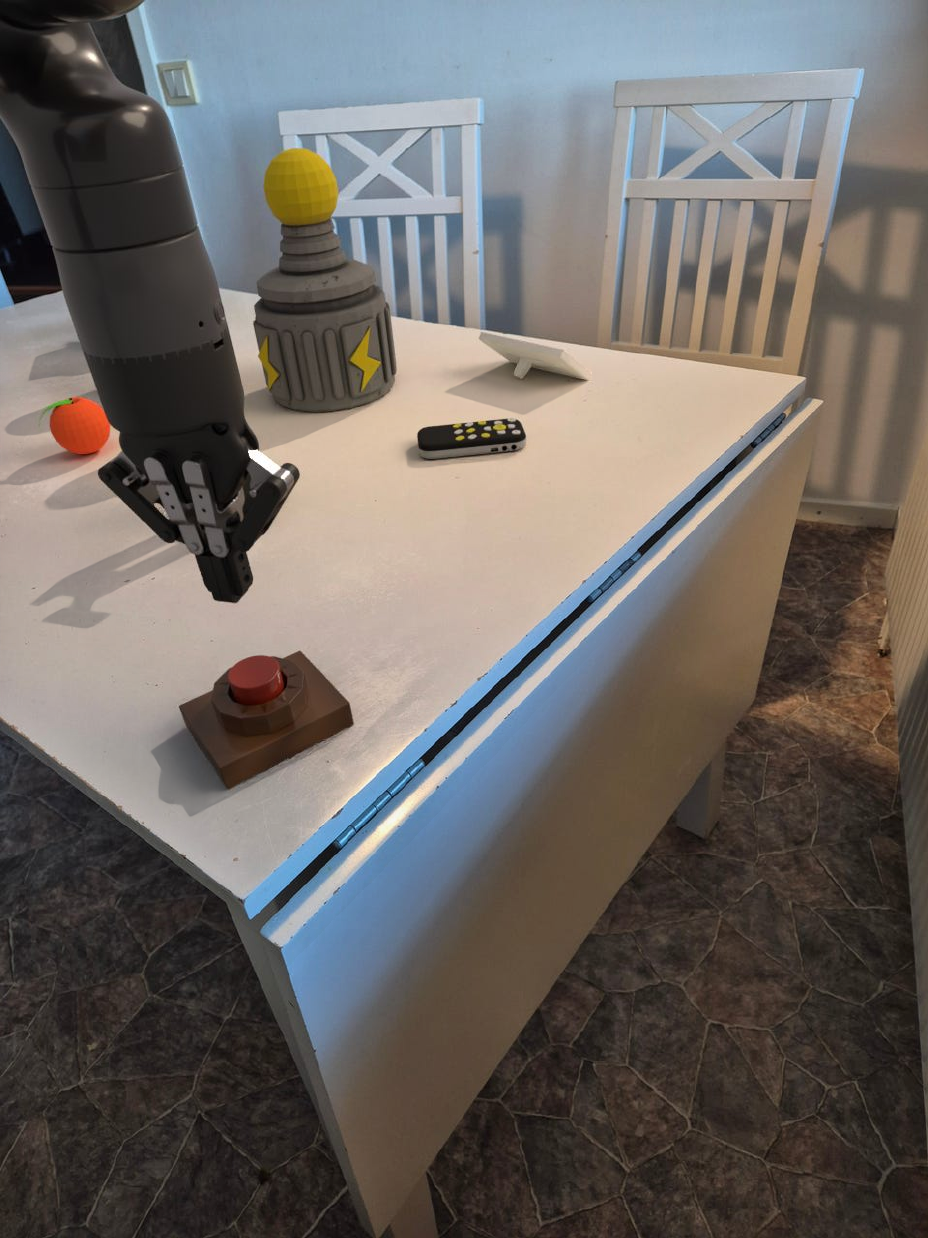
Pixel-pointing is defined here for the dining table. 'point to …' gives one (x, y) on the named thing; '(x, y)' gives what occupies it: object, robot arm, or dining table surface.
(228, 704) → the button block
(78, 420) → the clementine
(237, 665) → the button
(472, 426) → the remote control
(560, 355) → the white picture frame
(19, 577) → the dining table surface
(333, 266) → the decorative lamp
